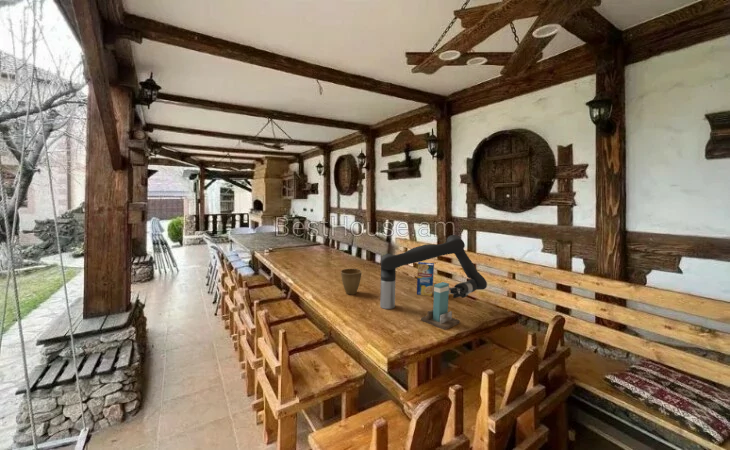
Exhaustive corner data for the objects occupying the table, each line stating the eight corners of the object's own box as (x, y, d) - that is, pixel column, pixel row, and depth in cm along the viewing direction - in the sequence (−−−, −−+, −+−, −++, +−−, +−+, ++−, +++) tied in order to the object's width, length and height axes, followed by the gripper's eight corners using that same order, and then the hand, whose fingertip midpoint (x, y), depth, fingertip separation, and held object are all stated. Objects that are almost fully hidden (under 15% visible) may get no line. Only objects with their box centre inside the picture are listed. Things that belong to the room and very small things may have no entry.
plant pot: (338, 291, 228) (338, 269, 227) (357, 289, 233) (357, 267, 232) (344, 297, 214) (344, 274, 213) (364, 295, 220) (364, 272, 218)
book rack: (435, 314, 186) (436, 304, 185) (459, 323, 174) (460, 312, 173) (420, 320, 177) (421, 310, 176) (444, 330, 165) (445, 318, 164)
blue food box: (432, 296, 220) (433, 265, 218) (416, 294, 223) (417, 264, 221) (433, 293, 226) (434, 263, 224) (417, 291, 229) (418, 262, 227)
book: (441, 316, 179) (442, 282, 178) (447, 318, 176) (449, 283, 174) (432, 319, 174) (434, 284, 172) (438, 322, 171) (440, 286, 169)
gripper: (453, 280, 193) (437, 284, 182) (474, 285, 182) (458, 290, 172) (452, 292, 194) (436, 297, 183) (473, 298, 183) (458, 304, 172)
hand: (447, 294), depth 177 cm, fingers open, 8 cm apart
